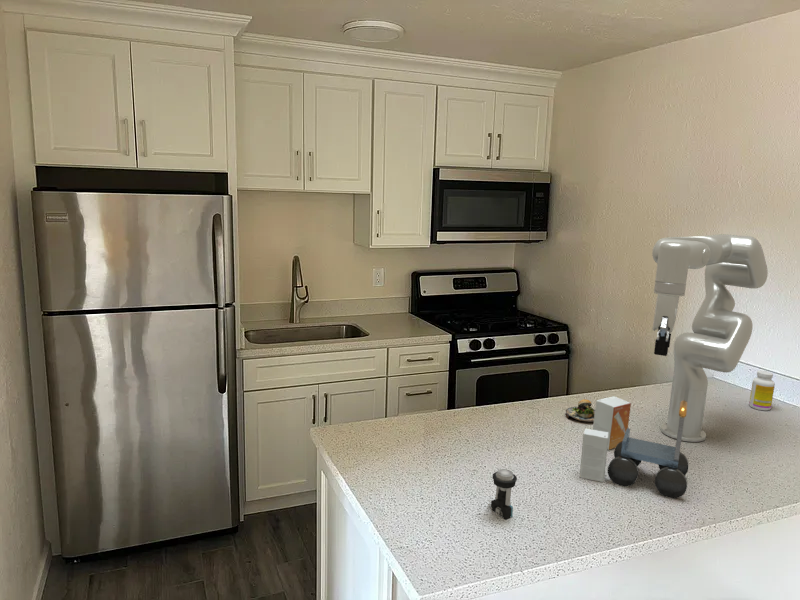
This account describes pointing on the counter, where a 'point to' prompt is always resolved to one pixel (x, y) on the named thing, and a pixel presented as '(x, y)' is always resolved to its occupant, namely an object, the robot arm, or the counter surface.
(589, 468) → the skincare box
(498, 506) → the push button
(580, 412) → the burger
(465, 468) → the counter surface
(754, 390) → the supplement bottle
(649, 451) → the trolley
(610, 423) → the small box
